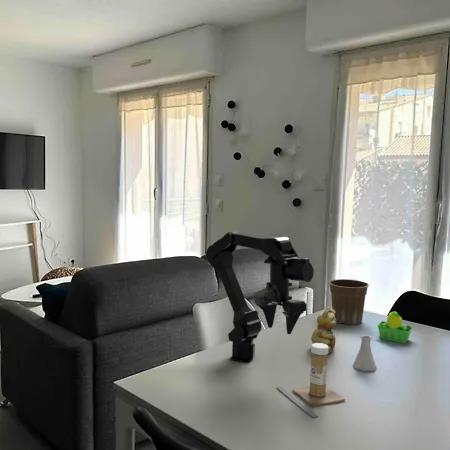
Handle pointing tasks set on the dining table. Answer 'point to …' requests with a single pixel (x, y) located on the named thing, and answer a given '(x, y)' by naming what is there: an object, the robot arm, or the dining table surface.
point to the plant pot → (348, 300)
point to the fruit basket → (394, 329)
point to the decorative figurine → (325, 329)
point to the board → (318, 401)
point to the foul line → (297, 402)
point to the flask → (365, 356)
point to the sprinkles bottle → (318, 369)
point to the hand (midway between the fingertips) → (279, 330)
